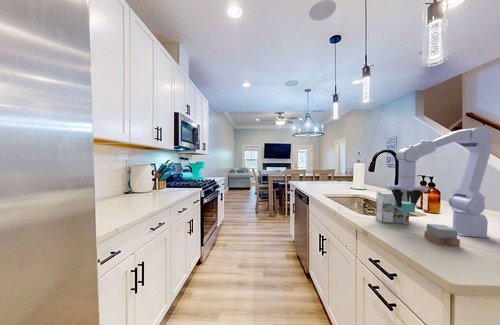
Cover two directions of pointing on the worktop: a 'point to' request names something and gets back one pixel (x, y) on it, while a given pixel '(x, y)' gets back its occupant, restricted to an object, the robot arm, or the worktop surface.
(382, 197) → the syrup box
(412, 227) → the worktop surface
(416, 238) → the worktop surface
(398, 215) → the coffee box
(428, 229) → the grey middle block
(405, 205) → the teal block
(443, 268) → the worktop surface
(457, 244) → the walnut base block
